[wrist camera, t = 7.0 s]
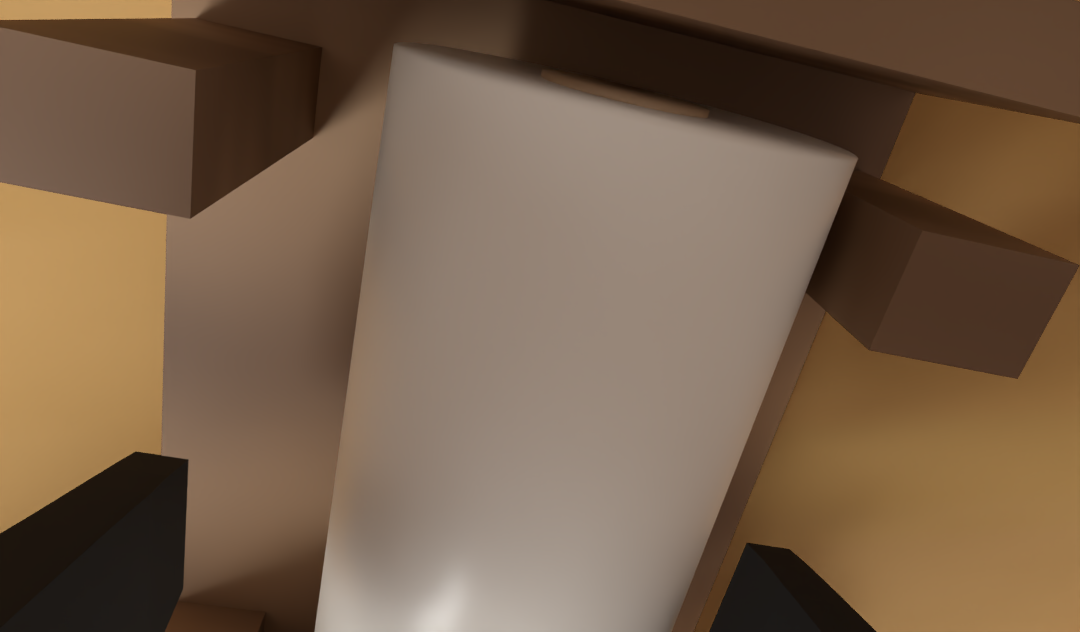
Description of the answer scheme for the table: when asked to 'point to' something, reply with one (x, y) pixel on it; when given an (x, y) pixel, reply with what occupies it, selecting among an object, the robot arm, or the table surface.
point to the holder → (348, 186)
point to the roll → (558, 344)
